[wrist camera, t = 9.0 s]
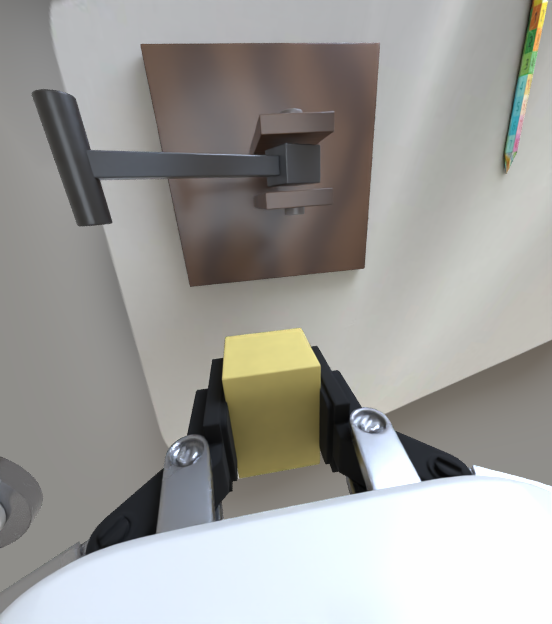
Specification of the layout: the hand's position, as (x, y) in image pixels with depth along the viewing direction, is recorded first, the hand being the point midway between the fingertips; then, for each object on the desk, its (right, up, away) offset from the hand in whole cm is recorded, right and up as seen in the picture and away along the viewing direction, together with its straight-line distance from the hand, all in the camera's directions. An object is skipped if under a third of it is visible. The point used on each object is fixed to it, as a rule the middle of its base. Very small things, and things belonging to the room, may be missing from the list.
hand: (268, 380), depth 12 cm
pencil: (+25, +27, +14) cm, 40 cm away
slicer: (0, +17, +14) cm, 22 cm away
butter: (0, 0, 0) cm, 0 cm away
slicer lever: (-4, +12, +3) cm, 13 cm away
